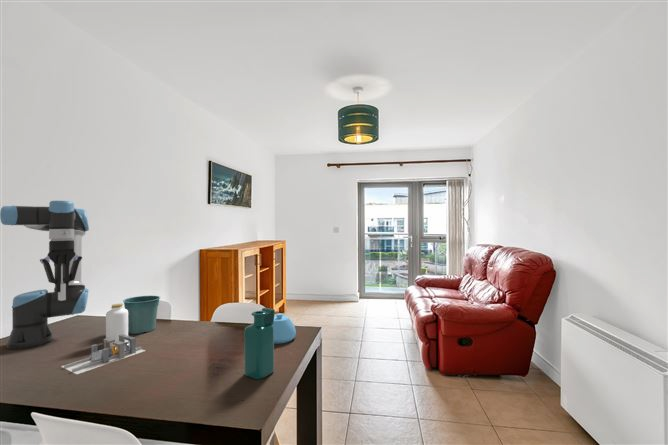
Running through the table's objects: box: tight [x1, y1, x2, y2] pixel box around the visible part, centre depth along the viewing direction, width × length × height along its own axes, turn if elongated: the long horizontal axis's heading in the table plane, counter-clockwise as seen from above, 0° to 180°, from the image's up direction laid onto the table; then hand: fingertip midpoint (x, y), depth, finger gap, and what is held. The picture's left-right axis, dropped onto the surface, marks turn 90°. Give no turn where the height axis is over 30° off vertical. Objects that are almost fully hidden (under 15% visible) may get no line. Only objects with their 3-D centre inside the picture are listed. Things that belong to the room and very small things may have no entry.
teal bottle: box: [243, 307, 276, 380], centre depth 114 cm, size 10×8×22 cm
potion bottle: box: [105, 303, 129, 347], centre depth 142 cm, size 8×8×18 cm
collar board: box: [60, 334, 146, 375], centre depth 125 cm, size 13×24×7 cm, turn 150°
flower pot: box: [122, 295, 161, 335], centre depth 162 cm, size 16×16×16 cm
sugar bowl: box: [272, 312, 297, 345], centre depth 148 cm, size 15×15×12 cm
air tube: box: [89, 341, 130, 363], centre depth 127 cm, size 14×4×4 cm, turn 150°
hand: (61, 299), depth 125 cm, fingers closed
